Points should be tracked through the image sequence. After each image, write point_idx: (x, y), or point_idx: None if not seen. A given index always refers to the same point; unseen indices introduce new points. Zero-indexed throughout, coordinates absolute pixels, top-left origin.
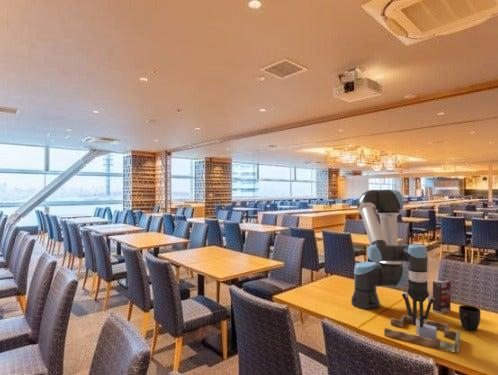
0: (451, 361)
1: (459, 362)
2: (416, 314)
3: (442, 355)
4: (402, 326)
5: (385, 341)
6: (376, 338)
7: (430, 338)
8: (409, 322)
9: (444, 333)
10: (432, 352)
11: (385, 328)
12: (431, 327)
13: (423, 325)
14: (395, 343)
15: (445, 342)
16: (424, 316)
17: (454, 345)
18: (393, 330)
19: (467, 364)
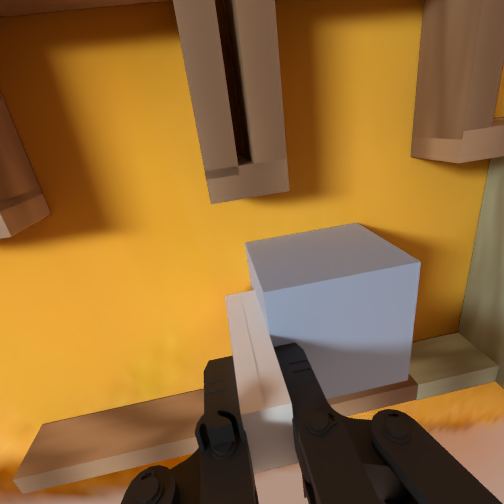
0: (431, 426)
1: (462, 411)
2: (250, 484)
3: (396, 408)
4: (45, 210)
5: (107, 484)
6: (44, 492)
7: (356, 399)
8: (24, 9)
9: (433, 159)
10: (352, 415)
11: (24, 484)
12: (375, 316)
13: (297, 324)
14: (163, 465)
15: (446, 386)
16: (383, 500)
17: (492, 381)
18: (94, 470)
19: (491, 403)
